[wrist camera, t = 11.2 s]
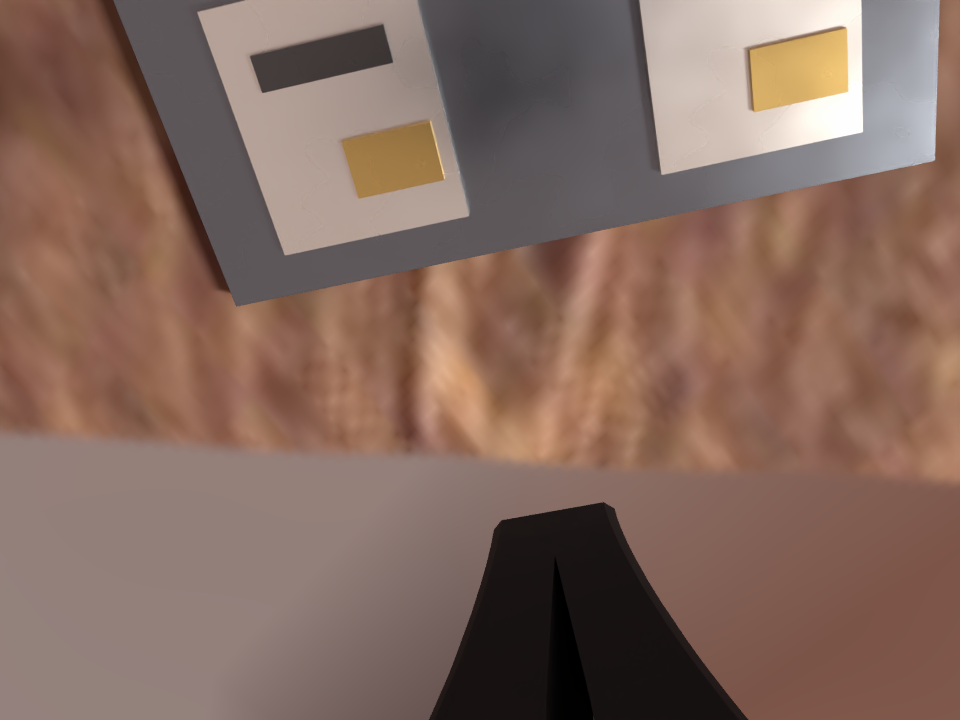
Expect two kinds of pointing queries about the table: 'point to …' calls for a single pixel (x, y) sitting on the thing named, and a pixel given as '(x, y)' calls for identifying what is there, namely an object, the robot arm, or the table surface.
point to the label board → (513, 118)
